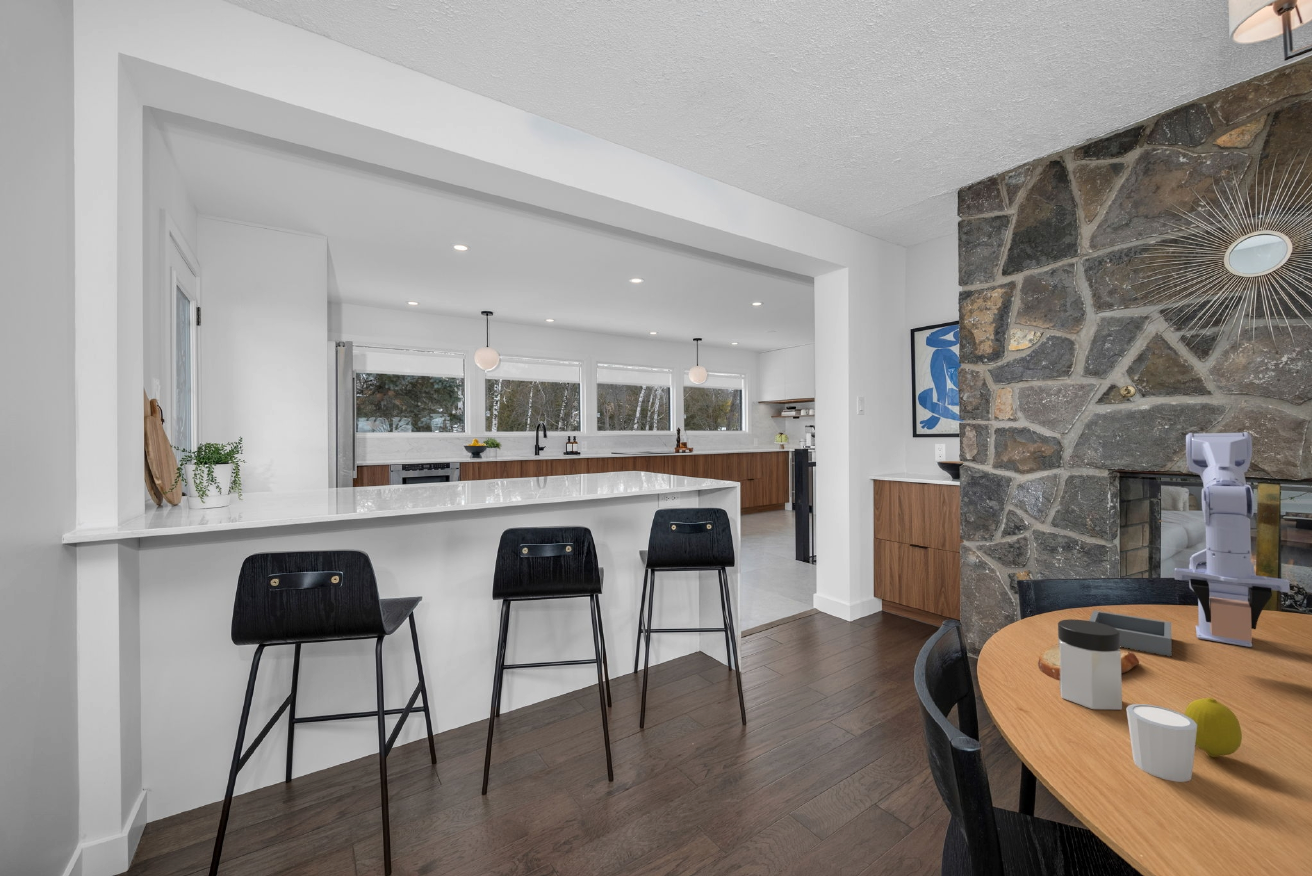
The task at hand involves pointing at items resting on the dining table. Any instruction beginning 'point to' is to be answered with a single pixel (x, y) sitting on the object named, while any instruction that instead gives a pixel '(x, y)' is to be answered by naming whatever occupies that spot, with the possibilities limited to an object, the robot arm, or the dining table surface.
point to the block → (1230, 619)
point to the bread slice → (1051, 662)
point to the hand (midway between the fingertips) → (1230, 624)
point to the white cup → (1162, 741)
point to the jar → (1090, 664)
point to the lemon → (1215, 727)
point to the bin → (1138, 632)
